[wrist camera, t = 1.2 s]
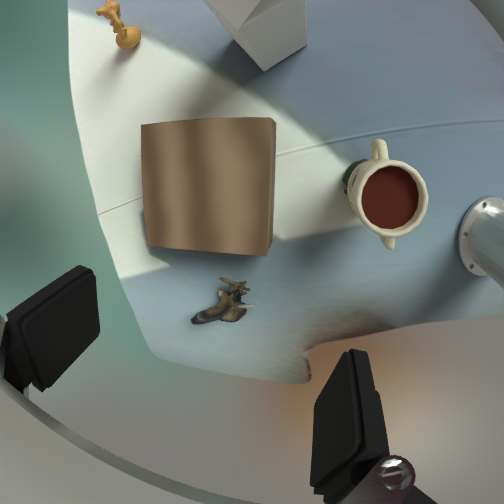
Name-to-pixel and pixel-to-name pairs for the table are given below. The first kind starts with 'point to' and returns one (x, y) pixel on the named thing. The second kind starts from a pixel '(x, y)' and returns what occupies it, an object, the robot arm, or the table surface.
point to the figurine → (120, 26)
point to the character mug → (386, 194)
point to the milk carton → (264, 27)
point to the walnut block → (209, 184)
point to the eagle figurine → (225, 305)
